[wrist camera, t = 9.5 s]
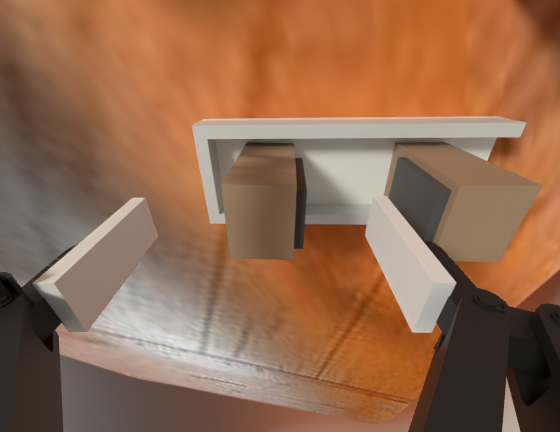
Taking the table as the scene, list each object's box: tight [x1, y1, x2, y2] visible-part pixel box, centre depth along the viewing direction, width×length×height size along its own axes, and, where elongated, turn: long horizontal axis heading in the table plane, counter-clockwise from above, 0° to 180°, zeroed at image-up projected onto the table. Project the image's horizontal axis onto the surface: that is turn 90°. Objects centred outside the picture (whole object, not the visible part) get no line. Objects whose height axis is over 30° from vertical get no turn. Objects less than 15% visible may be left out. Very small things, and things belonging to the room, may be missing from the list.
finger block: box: [221, 142, 307, 260], centre depth 18 cm, size 5×5×9 cm
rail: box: [192, 116, 542, 262], centre depth 18 cm, size 24×9×10 cm, turn 91°
